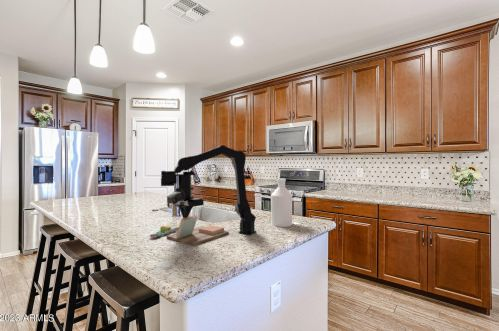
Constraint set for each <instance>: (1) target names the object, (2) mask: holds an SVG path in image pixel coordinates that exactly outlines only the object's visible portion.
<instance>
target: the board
mask: <svg viewBox="0 0 499 331" xmlns="http://www.w3.org/2000/svg"><path fill="white" fill-rule="evenodd" d="M203 227H205V226H198V227H194V230H193V233H192V234H190V235H186V236H183V237H180V238H178V237H177V236H176V235H177V232H176V233H175V232H174V233H175V234H174V233H171V234H169V235H168V234H167V235H166V239H167V240H170V241H174V242H177V243H183V244H186V245H190V246H198V245H201V244H203V243H206V242H209V241H213V240H214V239H217V238H221V237H224V236H227V235H229V233H230V232H229V231H228V230H224V231H223V232H220V233H217V234H214V235H210V234H206V233H201V232H199V228H203Z"/></svg>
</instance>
